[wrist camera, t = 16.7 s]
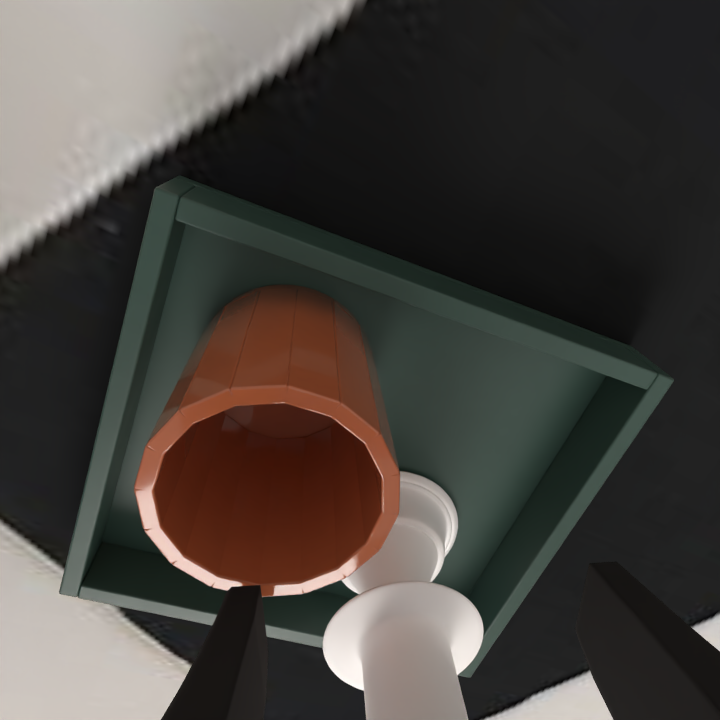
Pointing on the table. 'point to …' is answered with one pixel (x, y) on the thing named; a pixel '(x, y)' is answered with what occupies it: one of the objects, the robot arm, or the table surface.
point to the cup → (273, 449)
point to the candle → (407, 617)
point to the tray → (401, 399)
